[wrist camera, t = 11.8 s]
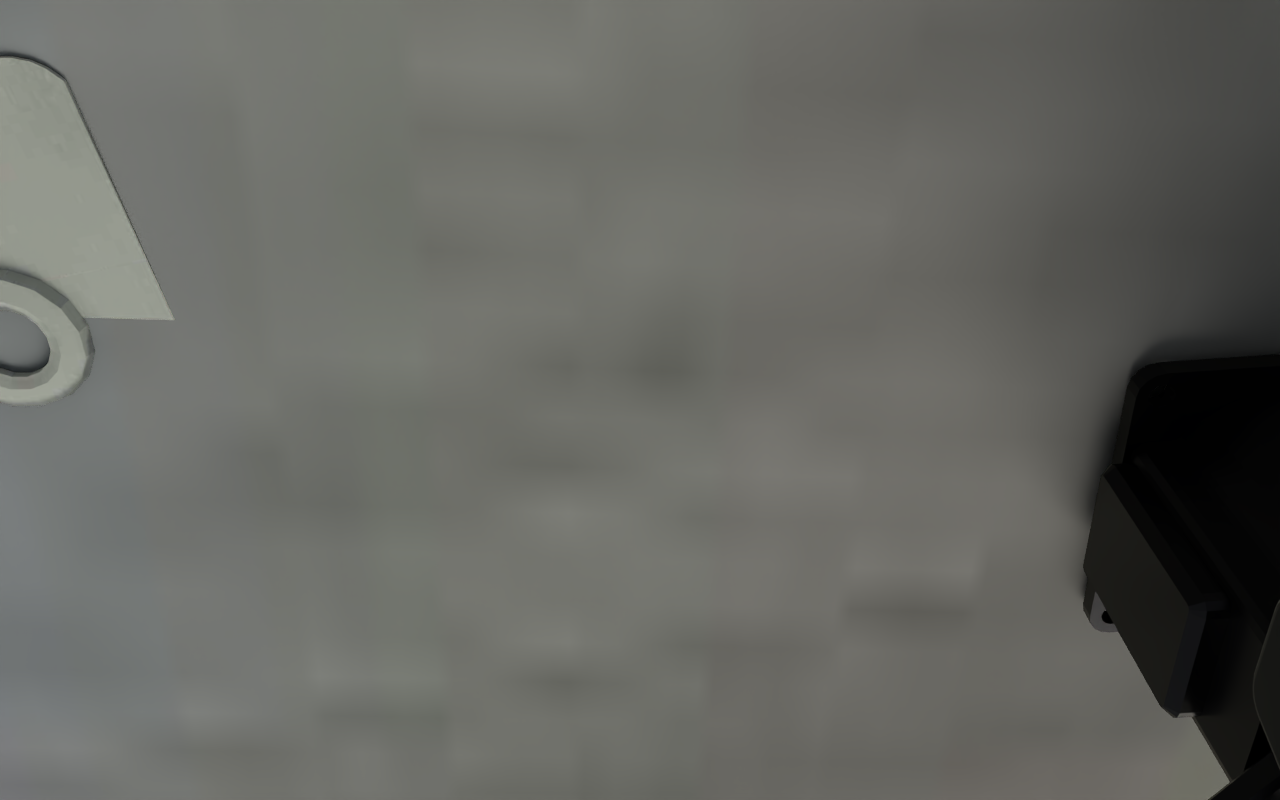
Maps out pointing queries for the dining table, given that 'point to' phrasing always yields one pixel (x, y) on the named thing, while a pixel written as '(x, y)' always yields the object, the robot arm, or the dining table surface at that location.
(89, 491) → the dining table surface
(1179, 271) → the dining table surface
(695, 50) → the dining table surface
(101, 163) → the mounting bracket
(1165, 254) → the dining table surface
